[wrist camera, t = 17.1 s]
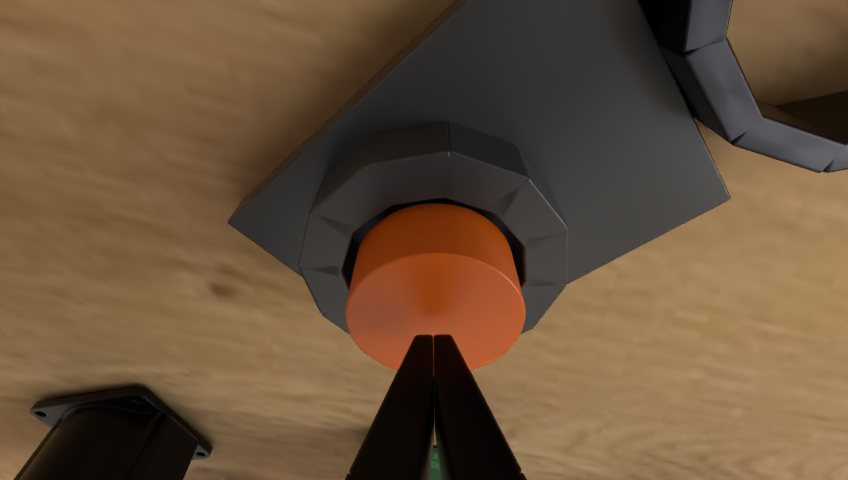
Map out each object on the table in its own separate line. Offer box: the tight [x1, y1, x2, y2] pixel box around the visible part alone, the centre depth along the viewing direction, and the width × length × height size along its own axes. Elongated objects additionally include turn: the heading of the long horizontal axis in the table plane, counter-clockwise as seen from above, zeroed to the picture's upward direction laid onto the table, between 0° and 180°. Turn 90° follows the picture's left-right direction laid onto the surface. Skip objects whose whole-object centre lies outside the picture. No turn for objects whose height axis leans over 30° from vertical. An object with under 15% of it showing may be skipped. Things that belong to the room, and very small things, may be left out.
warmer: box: [228, 0, 731, 334], centre depth 12 cm, size 12×9×3 cm
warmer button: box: [345, 203, 526, 371], centre depth 11 cm, size 4×4×2 cm
